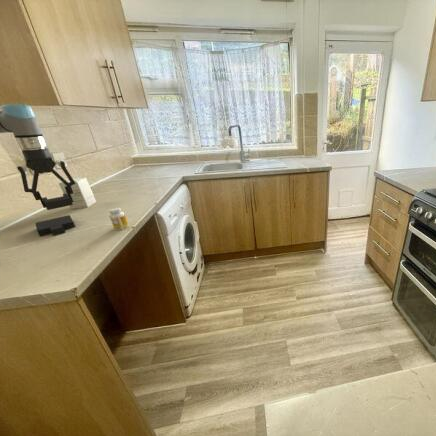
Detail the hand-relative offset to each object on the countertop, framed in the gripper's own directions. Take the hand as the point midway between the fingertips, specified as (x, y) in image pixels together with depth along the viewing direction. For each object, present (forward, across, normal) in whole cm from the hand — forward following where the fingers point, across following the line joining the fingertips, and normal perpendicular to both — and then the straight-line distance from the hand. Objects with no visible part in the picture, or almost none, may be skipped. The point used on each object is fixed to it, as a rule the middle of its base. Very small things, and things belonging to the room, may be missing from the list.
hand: (58, 204), depth 103 cm
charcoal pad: (+13, -4, +7) cm, 15 cm away
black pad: (0, 0, 0) cm, 0 cm away
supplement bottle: (+13, +16, -16) cm, 26 cm away
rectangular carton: (+13, +11, +37) cm, 41 cm away
